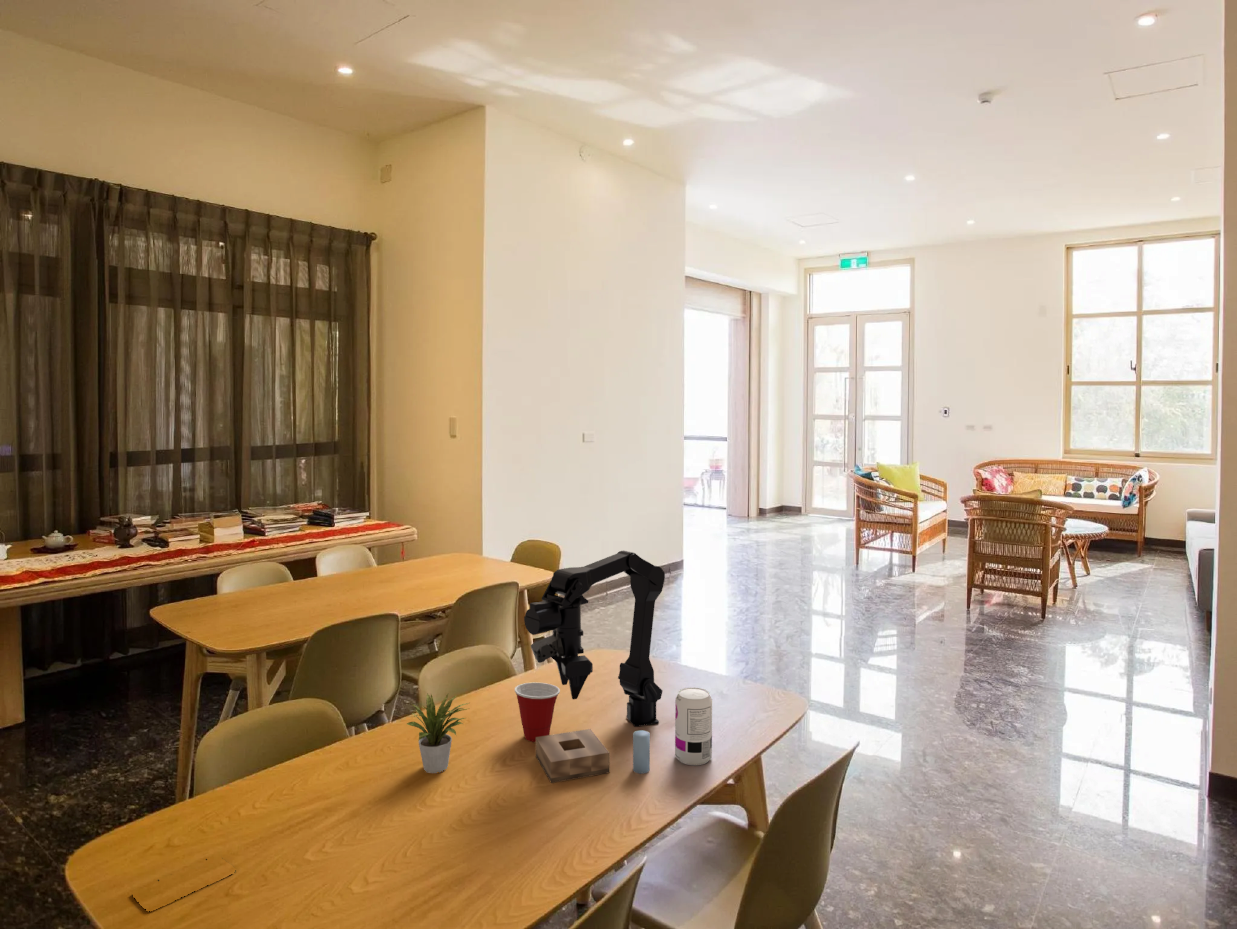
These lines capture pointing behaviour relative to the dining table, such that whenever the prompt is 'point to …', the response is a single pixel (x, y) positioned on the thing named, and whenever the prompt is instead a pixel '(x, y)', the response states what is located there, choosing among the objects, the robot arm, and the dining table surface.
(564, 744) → the bore block
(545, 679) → the dining table surface
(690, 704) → the supplement can
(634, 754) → the pin
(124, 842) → the dining table surface
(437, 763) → the house plant
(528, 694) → the plastic cup
